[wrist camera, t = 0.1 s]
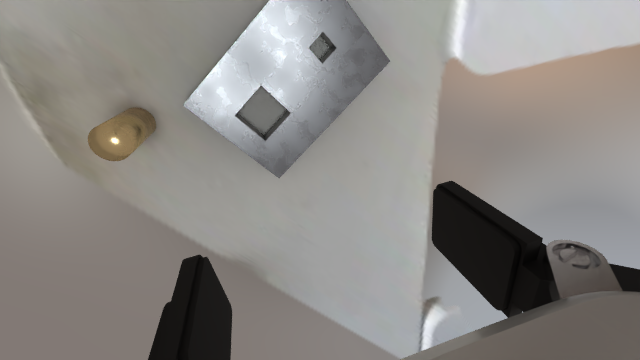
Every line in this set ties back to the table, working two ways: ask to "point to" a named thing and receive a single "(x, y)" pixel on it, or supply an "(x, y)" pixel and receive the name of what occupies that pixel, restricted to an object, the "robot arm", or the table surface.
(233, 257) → the table surface
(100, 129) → the tan cylinder
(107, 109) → the table surface
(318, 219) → the table surface
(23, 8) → the table surface
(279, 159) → the plate
